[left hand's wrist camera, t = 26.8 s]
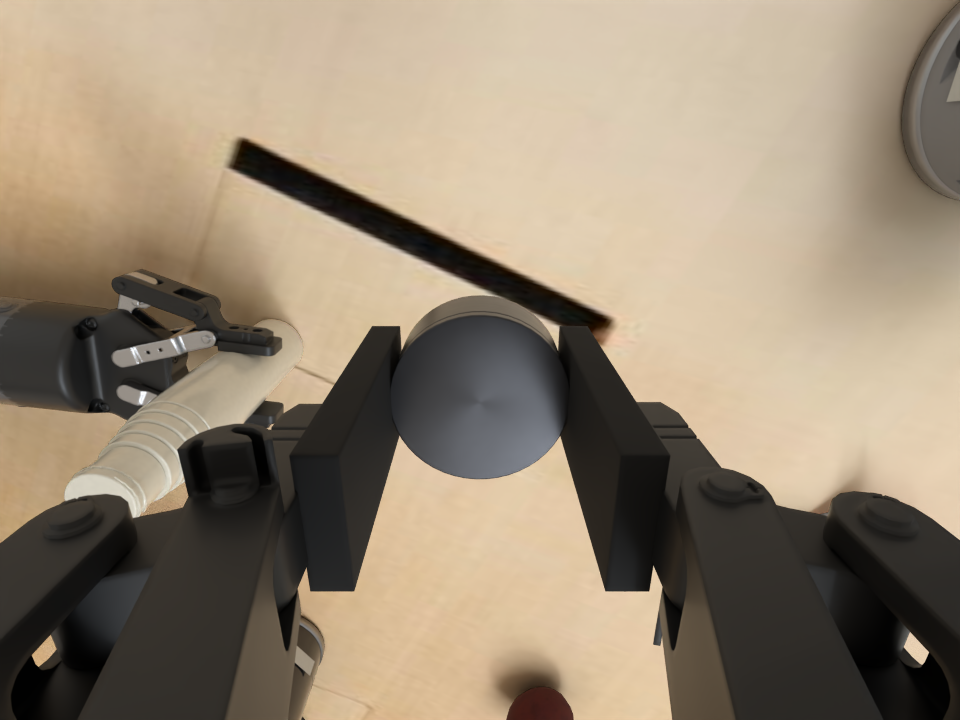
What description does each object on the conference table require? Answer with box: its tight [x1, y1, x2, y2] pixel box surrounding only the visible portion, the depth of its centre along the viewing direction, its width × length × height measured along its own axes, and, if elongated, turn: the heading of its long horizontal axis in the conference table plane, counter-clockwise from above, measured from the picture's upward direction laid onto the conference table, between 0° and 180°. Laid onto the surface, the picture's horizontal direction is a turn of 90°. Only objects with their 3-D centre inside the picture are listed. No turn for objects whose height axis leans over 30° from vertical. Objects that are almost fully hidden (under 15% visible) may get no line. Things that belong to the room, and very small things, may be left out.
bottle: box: [64, 319, 303, 518], centre depth 33 cm, size 5×5×21 cm
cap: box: [390, 296, 570, 479], centre depth 13 cm, size 4×4×2 cm
